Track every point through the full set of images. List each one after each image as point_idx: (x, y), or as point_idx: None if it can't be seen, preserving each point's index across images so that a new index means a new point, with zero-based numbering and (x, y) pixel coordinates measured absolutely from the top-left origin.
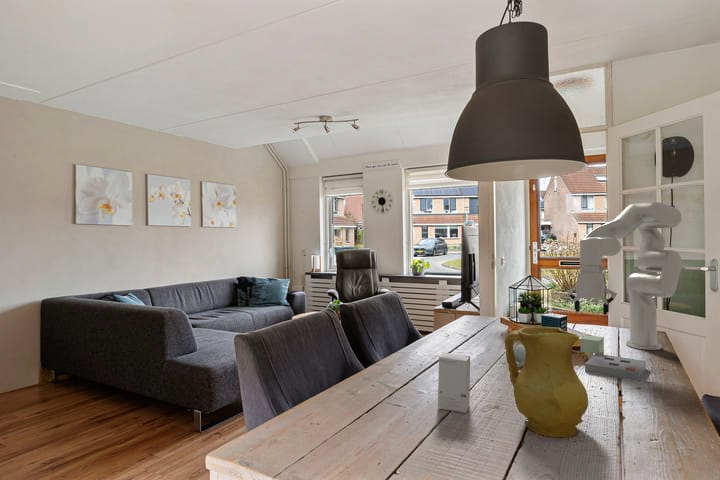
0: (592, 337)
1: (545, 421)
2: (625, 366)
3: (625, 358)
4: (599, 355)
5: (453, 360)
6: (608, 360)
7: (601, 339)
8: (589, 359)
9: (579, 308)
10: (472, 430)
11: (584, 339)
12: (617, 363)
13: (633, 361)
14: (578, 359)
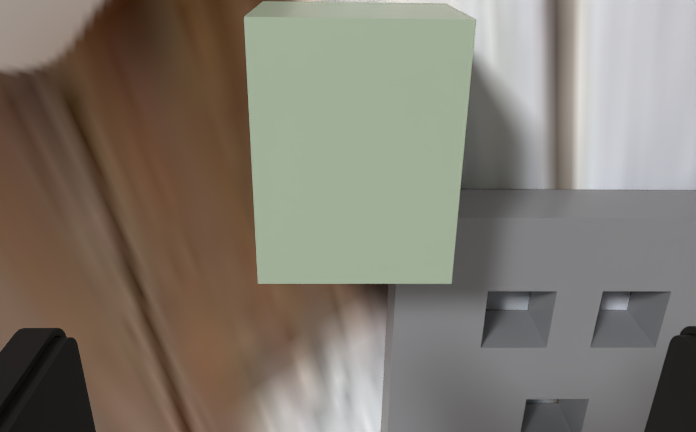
0: (356, 136)
1: None
2: (623, 429)
3: (638, 236)
4: None
5: None
6: (515, 360)
7: (461, 154)
8: (390, 404)
9: (51, 407)
10: None
11: (301, 282)
12: (576, 394)
13: (690, 286)
14: None
